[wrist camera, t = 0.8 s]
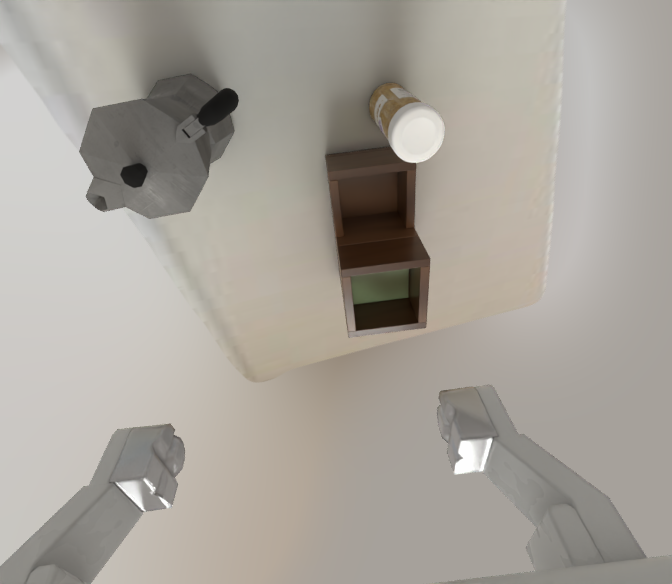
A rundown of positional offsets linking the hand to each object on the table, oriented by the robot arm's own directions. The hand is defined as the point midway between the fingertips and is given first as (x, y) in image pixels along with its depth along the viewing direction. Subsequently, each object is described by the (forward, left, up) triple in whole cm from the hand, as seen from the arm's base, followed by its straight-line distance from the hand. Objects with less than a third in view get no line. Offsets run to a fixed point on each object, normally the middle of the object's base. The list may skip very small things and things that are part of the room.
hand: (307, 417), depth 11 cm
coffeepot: (-2, -11, -38) cm, 40 cm away
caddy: (+13, +7, -38) cm, 41 cm away
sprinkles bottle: (-1, +10, -38) cm, 40 cm away
